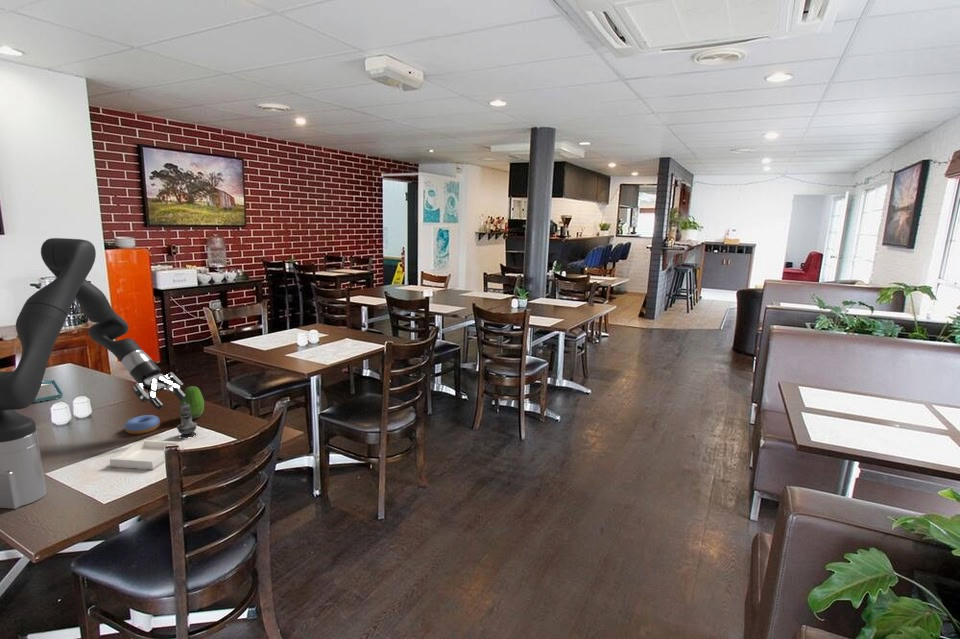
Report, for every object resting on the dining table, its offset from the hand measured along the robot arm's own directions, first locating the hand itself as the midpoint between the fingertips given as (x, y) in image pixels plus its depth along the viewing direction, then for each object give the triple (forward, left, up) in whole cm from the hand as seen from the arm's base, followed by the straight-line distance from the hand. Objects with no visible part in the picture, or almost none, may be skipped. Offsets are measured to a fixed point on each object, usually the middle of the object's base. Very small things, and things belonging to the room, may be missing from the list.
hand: (172, 403), depth 163 cm
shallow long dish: (+30, +79, -11) cm, 85 cm away
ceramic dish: (-17, -4, -11) cm, 20 cm away
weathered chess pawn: (-1, -5, -11) cm, 12 cm away
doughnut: (+2, +13, -11) cm, 17 cm away
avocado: (+13, +3, -11) cm, 17 cm away
